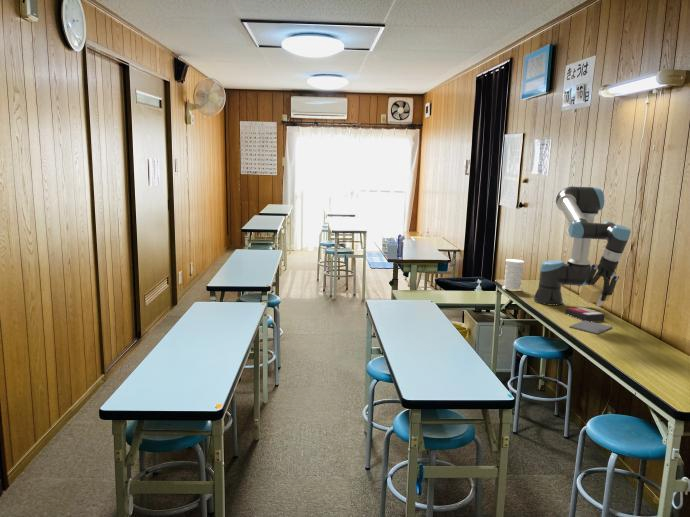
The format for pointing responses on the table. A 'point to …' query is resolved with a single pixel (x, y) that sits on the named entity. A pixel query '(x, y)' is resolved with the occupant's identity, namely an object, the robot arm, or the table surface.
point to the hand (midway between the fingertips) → (592, 302)
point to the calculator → (585, 314)
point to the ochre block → (592, 293)
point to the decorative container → (513, 274)
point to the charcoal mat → (591, 327)
